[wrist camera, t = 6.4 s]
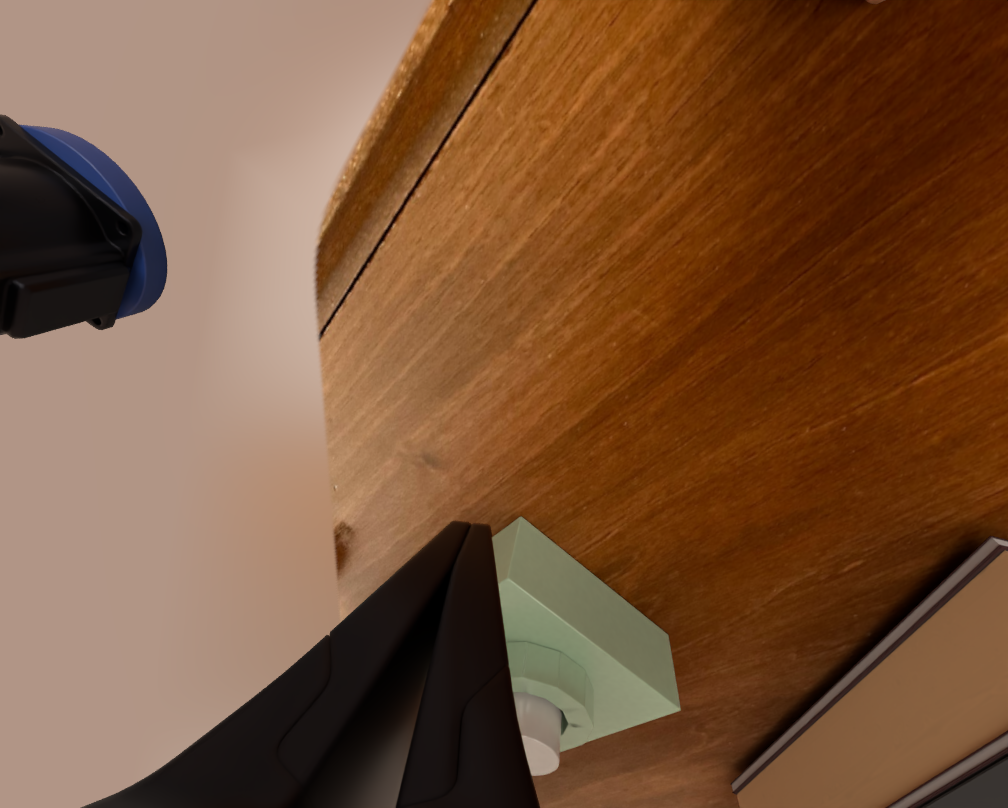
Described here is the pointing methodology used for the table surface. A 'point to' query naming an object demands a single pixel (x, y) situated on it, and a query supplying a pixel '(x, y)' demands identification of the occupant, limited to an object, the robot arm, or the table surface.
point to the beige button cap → (539, 732)
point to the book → (908, 711)
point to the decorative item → (874, 1)
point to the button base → (578, 640)
